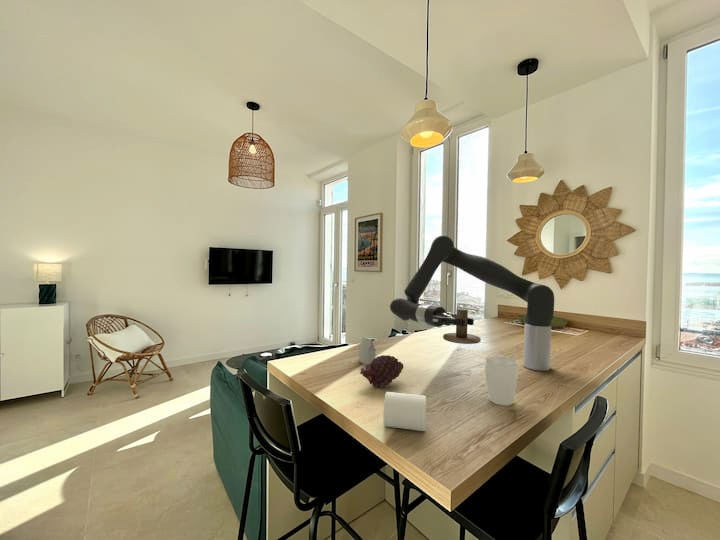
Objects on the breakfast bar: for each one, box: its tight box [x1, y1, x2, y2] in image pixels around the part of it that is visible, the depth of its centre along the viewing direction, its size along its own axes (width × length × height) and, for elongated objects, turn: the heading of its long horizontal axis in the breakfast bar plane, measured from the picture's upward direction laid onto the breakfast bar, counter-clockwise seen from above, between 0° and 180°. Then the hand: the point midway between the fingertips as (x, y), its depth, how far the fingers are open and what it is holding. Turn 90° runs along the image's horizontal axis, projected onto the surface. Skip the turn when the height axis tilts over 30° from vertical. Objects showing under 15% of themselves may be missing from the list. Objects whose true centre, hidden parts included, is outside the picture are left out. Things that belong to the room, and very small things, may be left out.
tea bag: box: [358, 336, 377, 366], centre depth 126 cm, size 4×7×10 cm, turn 30°
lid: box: [442, 308, 482, 345], centre depth 105 cm, size 12×12×10 cm
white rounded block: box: [382, 391, 427, 432], centre depth 79 cm, size 12×10×8 cm
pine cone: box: [359, 354, 405, 388], centre depth 103 cm, size 18×10×10 cm, turn 126°
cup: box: [484, 356, 519, 407], centre depth 93 cm, size 9×9×12 cm
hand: (468, 322), depth 103 cm, fingers closed on lid, 3 cm apart
